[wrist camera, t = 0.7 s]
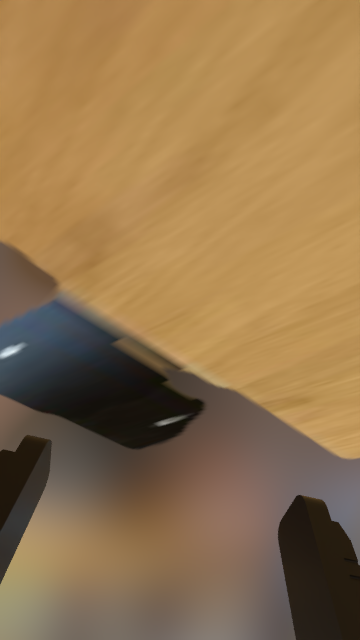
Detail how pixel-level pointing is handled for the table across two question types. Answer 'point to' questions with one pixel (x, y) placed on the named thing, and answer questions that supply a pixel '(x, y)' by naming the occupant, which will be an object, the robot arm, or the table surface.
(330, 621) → the robot arm
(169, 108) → the table surface
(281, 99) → the table surface
